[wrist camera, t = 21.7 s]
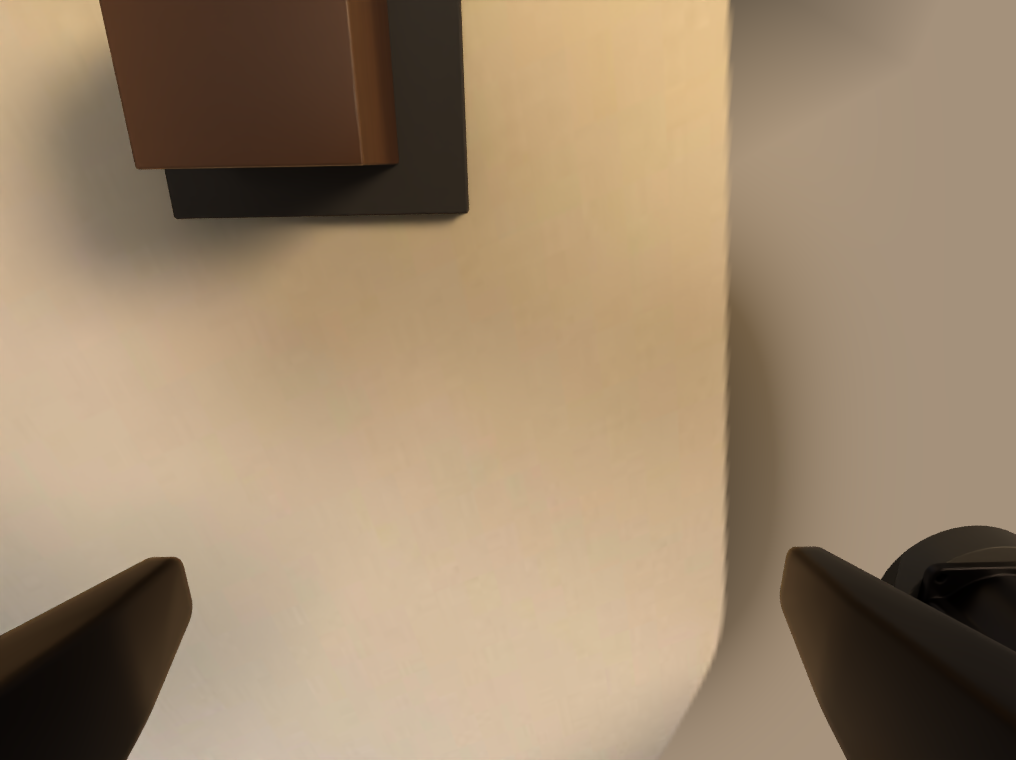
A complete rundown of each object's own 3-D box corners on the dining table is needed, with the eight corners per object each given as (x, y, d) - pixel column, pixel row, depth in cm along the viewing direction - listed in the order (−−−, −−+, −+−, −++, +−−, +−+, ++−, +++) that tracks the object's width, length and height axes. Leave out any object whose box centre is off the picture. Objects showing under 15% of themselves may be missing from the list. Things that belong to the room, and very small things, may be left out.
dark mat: (457, -96, 16) (455, -105, 16) (469, 211, 19) (468, 213, 18) (122, -91, 16) (108, -100, 15) (183, 217, 19) (173, 219, 18)
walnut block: (384, -34, 16) (337, -114, 11) (399, 164, 18) (363, 165, 13) (198, -31, 16) (73, -110, 11) (231, 167, 18) (134, 169, 13)
